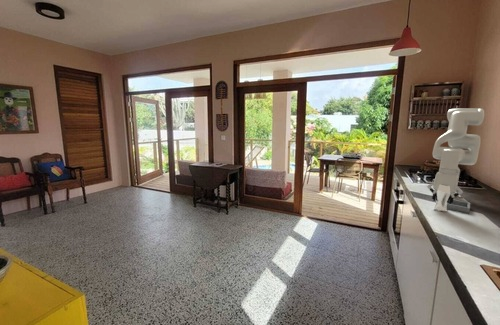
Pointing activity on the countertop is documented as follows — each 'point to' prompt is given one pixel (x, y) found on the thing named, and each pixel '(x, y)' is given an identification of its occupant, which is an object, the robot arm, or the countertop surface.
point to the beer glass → (442, 198)
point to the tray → (459, 206)
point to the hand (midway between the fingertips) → (442, 201)
